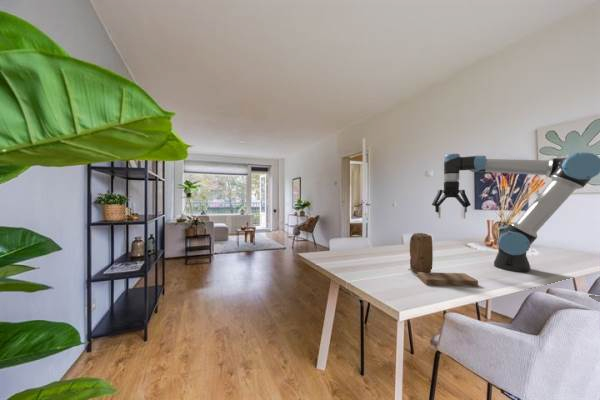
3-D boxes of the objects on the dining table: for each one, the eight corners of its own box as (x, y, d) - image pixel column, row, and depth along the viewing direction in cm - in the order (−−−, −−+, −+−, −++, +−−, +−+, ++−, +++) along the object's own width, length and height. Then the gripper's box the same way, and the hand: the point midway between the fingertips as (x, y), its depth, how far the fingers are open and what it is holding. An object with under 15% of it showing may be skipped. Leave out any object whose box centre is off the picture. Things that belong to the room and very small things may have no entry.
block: (433, 275, 121) (434, 235, 120) (419, 276, 120) (420, 235, 119) (420, 268, 131) (420, 232, 131) (407, 269, 130) (407, 232, 130)
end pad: (425, 269, 131) (425, 269, 131) (435, 277, 119) (435, 276, 119) (407, 269, 132) (407, 268, 132) (416, 276, 120) (416, 276, 120)
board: (464, 278, 118) (464, 273, 118) (477, 286, 108) (477, 280, 108) (417, 277, 119) (417, 271, 119) (426, 284, 109) (426, 279, 109)
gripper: (470, 181, 143) (469, 217, 144) (426, 181, 145) (425, 217, 146) (478, 180, 136) (477, 218, 136) (432, 181, 137) (431, 218, 138)
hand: (450, 218), depth 141 cm, fingers open, 13 cm apart
